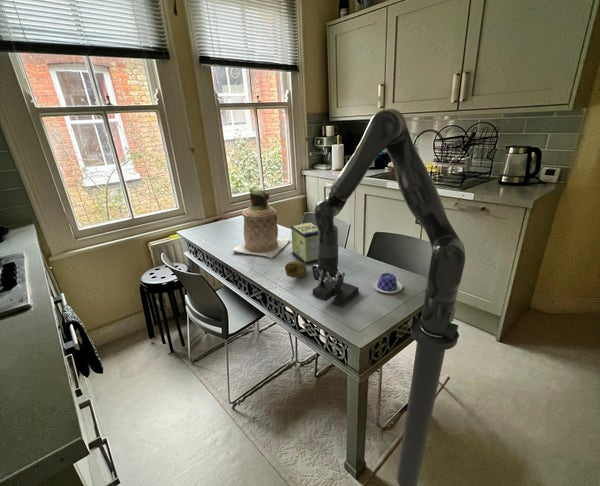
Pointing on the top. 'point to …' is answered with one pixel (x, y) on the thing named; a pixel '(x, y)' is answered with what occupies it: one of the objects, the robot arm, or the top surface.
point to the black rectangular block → (325, 291)
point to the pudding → (387, 283)
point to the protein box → (305, 242)
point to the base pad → (343, 293)
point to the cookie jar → (260, 228)
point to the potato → (295, 269)
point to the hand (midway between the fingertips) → (327, 292)
